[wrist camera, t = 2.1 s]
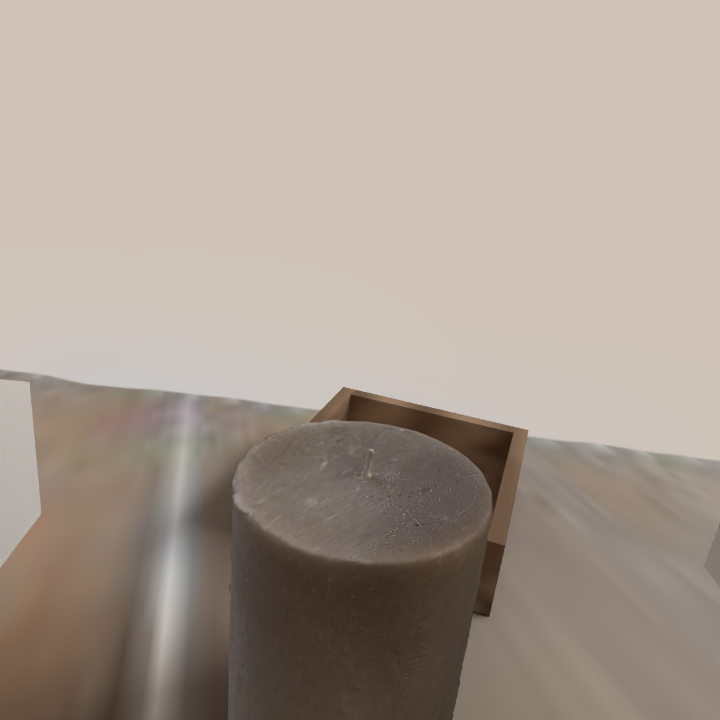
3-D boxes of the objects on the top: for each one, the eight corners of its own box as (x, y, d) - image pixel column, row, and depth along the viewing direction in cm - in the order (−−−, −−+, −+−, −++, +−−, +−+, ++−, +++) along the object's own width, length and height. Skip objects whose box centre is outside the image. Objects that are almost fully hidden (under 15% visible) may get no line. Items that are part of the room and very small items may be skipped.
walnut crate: (515, 486, 49) (528, 430, 47) (489, 616, 36) (505, 545, 34) (338, 440, 53) (343, 387, 52) (254, 542, 40) (258, 475, 38)
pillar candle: (489, 780, 27) (562, 480, 22) (287, 919, 22) (318, 565, 16) (363, 629, 34) (395, 377, 29) (190, 704, 29) (189, 413, 24)
